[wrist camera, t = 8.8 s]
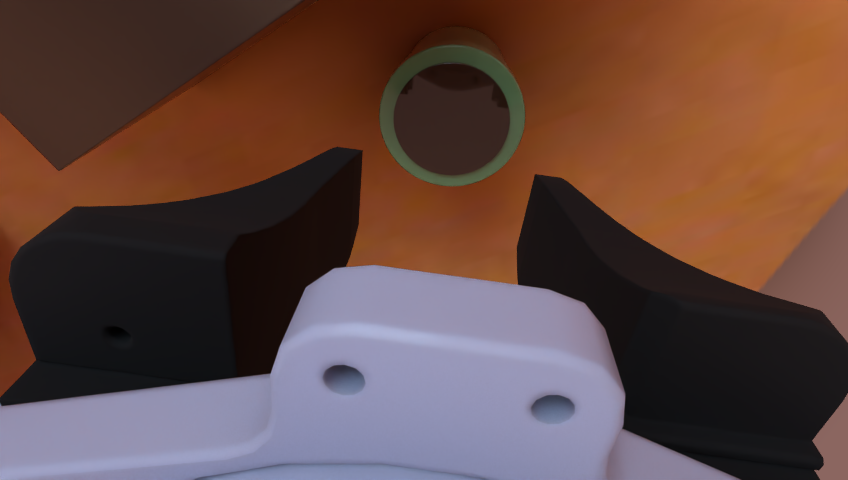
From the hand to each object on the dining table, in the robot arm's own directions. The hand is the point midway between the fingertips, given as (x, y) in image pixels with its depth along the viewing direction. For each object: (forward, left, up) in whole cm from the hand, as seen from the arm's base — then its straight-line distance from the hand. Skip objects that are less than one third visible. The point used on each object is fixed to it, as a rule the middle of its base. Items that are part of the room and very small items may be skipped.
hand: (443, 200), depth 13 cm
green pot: (0, 0, -10) cm, 10 cm away
